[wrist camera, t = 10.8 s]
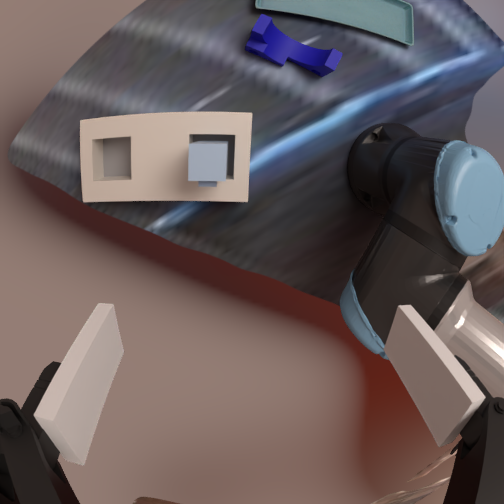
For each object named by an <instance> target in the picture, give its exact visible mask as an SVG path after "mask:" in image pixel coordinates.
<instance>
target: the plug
mask: <svg viewBox="0 0 504 504" xmlns="http://www.w3.org/2000/svg"><path fill="white" fill-rule="evenodd" d="M227 162H228V141H197V142H193V143H190V144H189V158H188V181H198V187H217V181H226V175H227Z"/></svg>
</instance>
